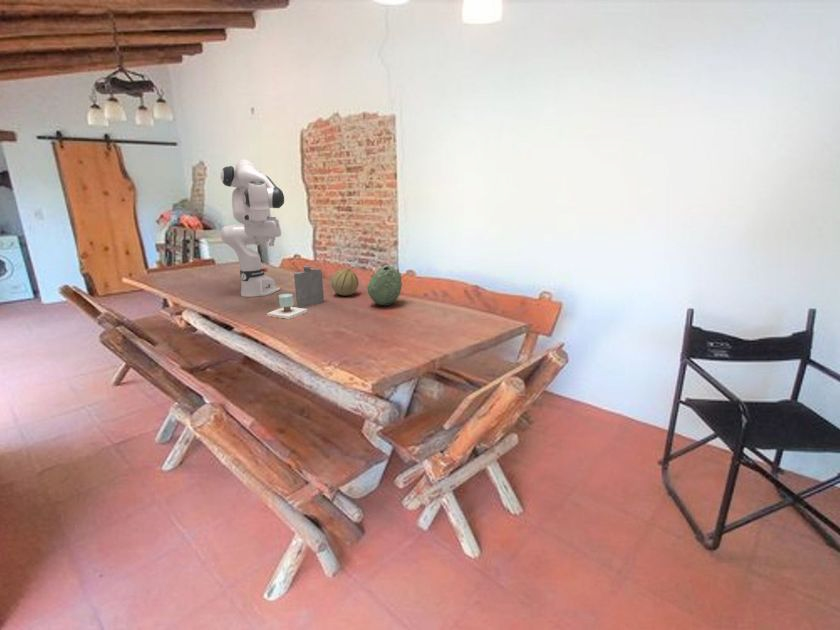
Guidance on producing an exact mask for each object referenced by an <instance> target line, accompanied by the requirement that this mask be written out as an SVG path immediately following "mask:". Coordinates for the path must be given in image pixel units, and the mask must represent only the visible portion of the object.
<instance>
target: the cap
mask: <svg viewBox="0 0 840 630" xmlns="http://www.w3.org/2000/svg"><path fill="white" fill-rule="evenodd" d="M278 303H279V307H280V308H282V307H294V305H295V302H294V295H293V293H281V294H279V295H278Z"/></svg>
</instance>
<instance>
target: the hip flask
mask: <svg viewBox="0 0 840 630" xmlns="http://www.w3.org/2000/svg"><path fill="white" fill-rule="evenodd" d="M302 268H303V270H301V271H297V272H294V273H293V277H294V287H295V288H294V289H295V298H296V308H303V307H304V308H306V307H309V306H313V305H316V304H323V303H324V302H325V297H324V285H323V284H324V283H323V274H322V272H323V270H322V268H311V265H304V266H303V267H302ZM304 308H303V309H304Z"/></svg>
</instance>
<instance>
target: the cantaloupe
mask: <svg viewBox="0 0 840 630" xmlns="http://www.w3.org/2000/svg"><path fill="white" fill-rule="evenodd" d="M330 283H331V288H332V289H333V291H334V292H335V293H336V294H337V295H339V296H344V297H345V296H346V297H347V296H351V295H353V294H354V293H355V292H356V291H357V290H358V287H359V278H358V276H357V274H356V273H355V272H354V271H352V270H351V268H347V269H346V268H341V269H339V270H337V271H336V272H335V273H334V274H333V275H332V277H331V282H330Z"/></svg>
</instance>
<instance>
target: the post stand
mask: <svg viewBox="0 0 840 630" xmlns="http://www.w3.org/2000/svg"><path fill="white" fill-rule="evenodd" d="M303 313H304V314H305V313H308V309H307V308H297V306H290V307H280V308H277V309H275V310H272V311H270V312H267V313H266V314H267V317H270V316H273V317H272V318H276V317H279V318H278V319H282V318H286V319H285V320H288V319H289V320H291V319H290V318H292V319H294V318H296V316H297V317H299V316H301V315H303ZM298 315H299V316H298ZM293 317H294V318H293Z"/></svg>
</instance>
